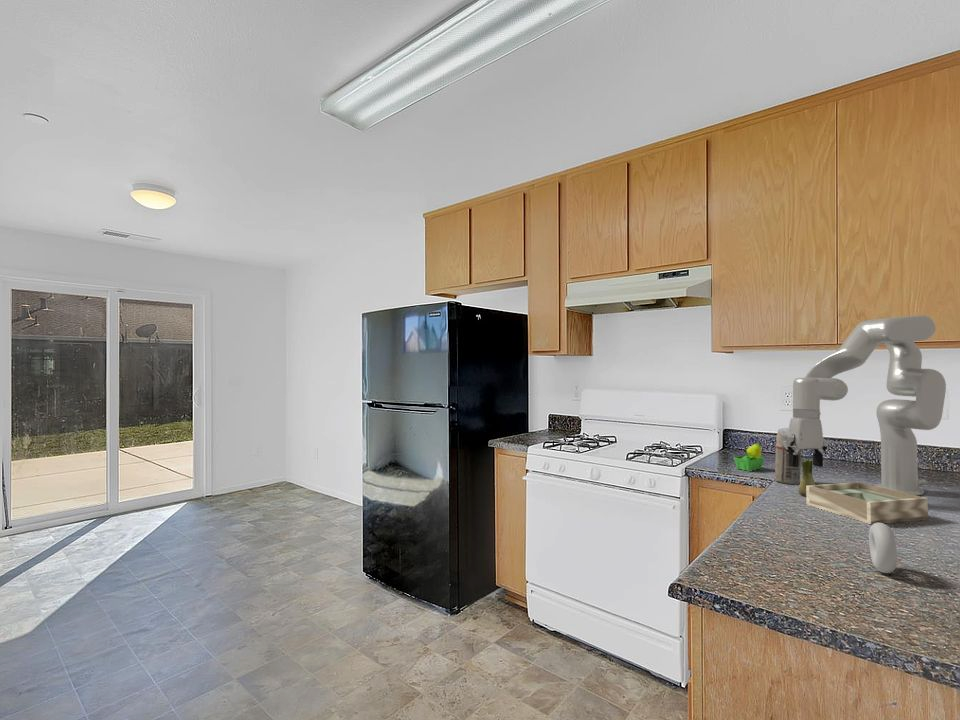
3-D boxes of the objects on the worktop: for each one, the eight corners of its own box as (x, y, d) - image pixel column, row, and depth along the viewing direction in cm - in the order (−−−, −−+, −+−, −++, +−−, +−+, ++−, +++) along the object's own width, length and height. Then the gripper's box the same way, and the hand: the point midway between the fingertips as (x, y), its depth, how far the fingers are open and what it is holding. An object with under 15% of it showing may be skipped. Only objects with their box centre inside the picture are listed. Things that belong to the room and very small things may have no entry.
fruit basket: (748, 466, 213) (747, 440, 213) (768, 470, 205) (768, 443, 205) (732, 469, 207) (732, 442, 207) (753, 473, 199) (753, 445, 199)
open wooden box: (858, 501, 156) (858, 482, 156) (928, 519, 137) (927, 498, 137) (806, 505, 152) (806, 485, 152) (870, 524, 132) (870, 502, 133)
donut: (867, 561, 107) (866, 515, 107) (887, 564, 105) (886, 518, 106) (877, 578, 98) (876, 529, 99) (899, 582, 97) (898, 531, 97)
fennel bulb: (809, 493, 166) (809, 458, 166) (821, 497, 161) (821, 461, 161) (794, 494, 165) (793, 458, 165) (806, 498, 160) (805, 461, 160)
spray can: (798, 480, 185) (797, 427, 186) (804, 485, 177) (803, 430, 178) (772, 479, 188) (771, 427, 188) (777, 483, 180) (777, 429, 180)
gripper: (817, 414, 169) (817, 463, 168) (775, 413, 165) (774, 464, 165) (837, 416, 162) (837, 468, 161) (794, 415, 158) (793, 469, 157)
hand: (805, 466), depth 163 cm, fingers open, 9 cm apart
